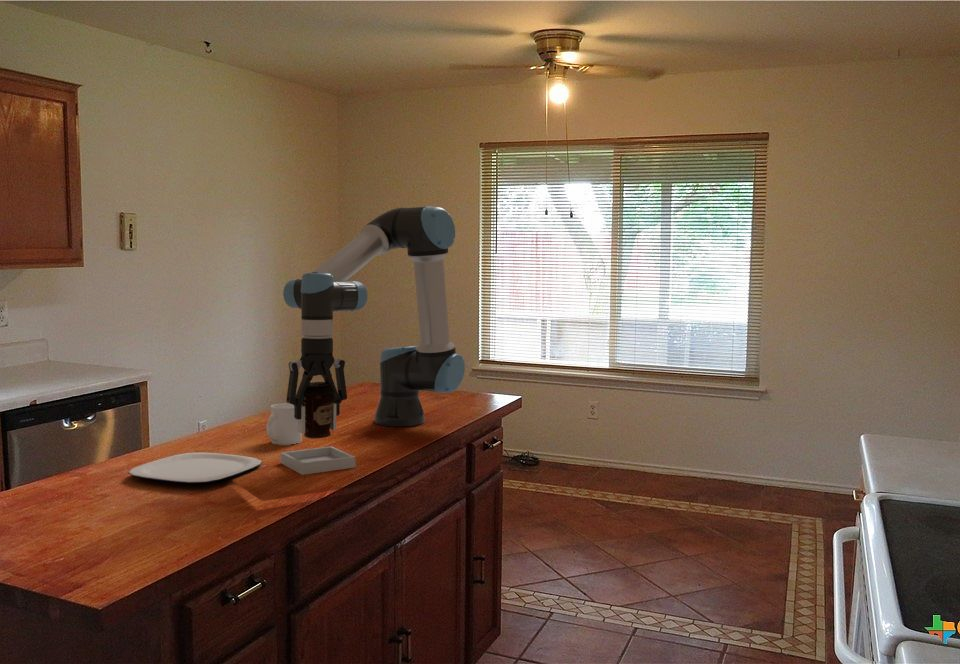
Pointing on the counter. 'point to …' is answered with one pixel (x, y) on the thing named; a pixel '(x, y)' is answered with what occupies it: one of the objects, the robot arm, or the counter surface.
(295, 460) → the gray square tray
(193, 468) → the plate
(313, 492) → the counter surface
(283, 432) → the mug
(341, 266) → the robot arm
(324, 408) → the coffee cup
